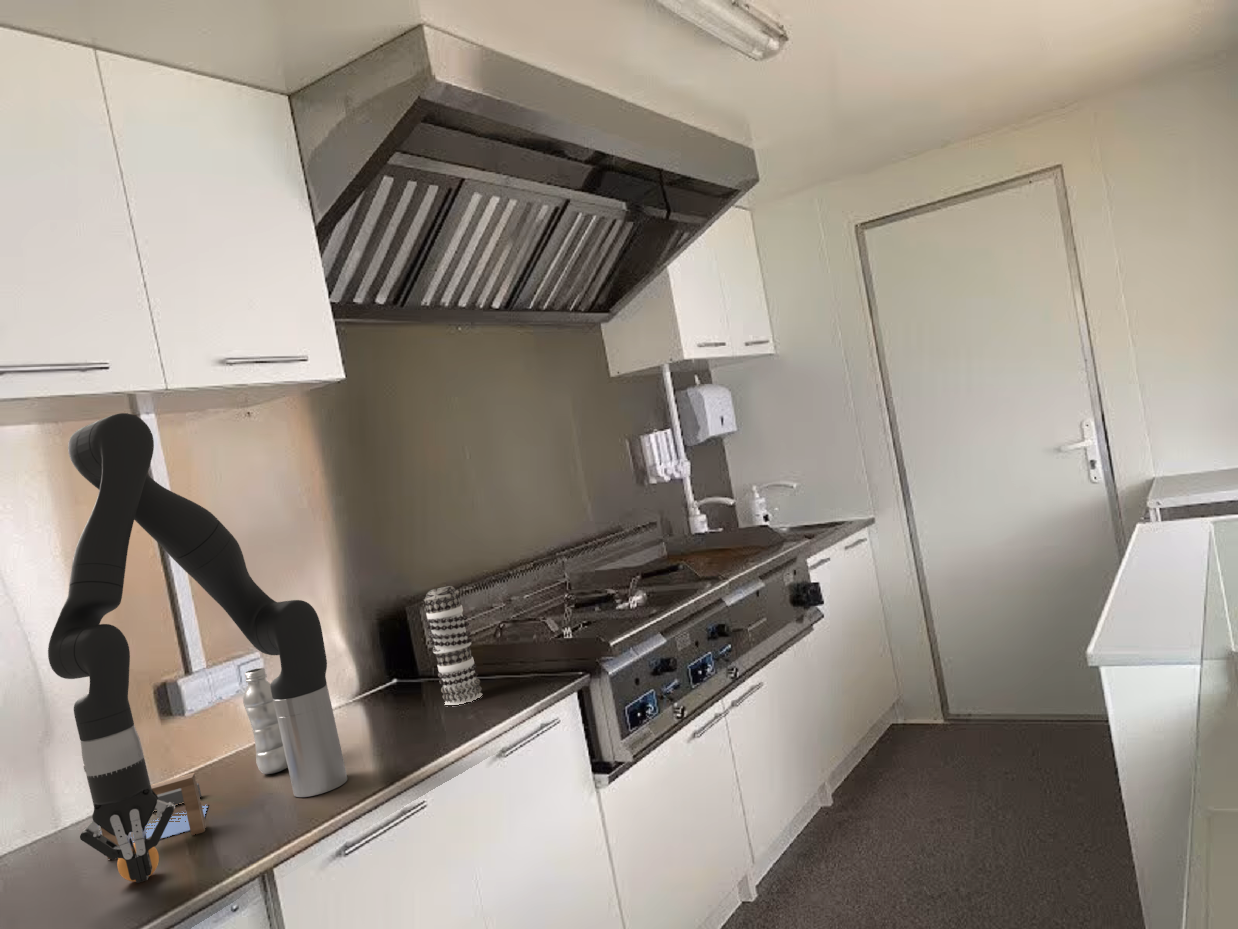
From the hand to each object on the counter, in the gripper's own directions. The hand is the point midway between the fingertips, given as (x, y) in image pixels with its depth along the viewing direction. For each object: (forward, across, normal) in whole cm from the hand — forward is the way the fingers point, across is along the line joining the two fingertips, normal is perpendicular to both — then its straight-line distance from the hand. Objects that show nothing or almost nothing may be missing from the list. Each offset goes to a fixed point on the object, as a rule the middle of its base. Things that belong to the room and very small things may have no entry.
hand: (142, 880), depth 142 cm
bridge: (+1, 0, -20) cm, 21 cm away
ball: (-2, +1, -4) cm, 4 cm away
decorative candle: (+2, -58, -60) cm, 83 cm away
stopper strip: (+2, 0, -42) cm, 42 cm away
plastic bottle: (+2, -18, -45) cm, 48 cm away
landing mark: (+1, 0, -28) cm, 29 cm away
